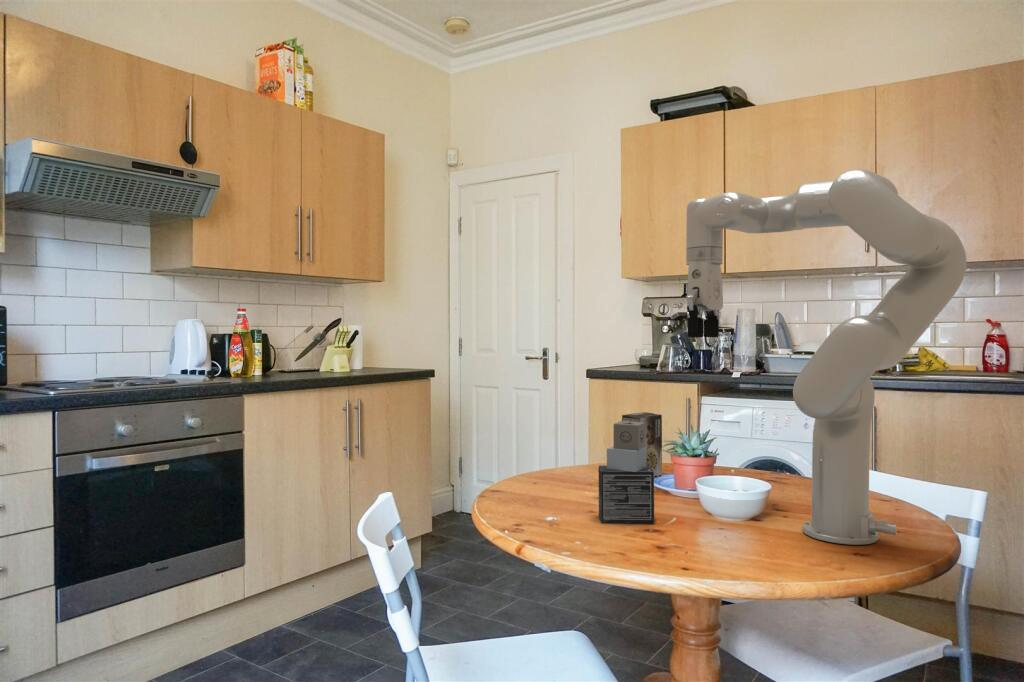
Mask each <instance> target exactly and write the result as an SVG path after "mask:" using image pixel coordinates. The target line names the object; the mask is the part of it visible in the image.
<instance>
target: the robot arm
mask: <svg viewBox="0 0 1024 682" xmlns="http://www.w3.org/2000/svg"><path fill="white" fill-rule="evenodd" d="M832 227H849V228H850V229H851V230H852V231H853V232H854V233H856V234H857V235H858V236H859V237H860V238H861V239H863V241H865V242H866V243H867V244H868V245H869V246H870V247H872V248H873V249H874V251H876V252H877V253H878V254H880V255H881V256H883V257H884V258H886V259H887V260H889V261H891V262H894V263H896V264H900V265H906V266H907V269H906V272H905V273H904V275H902V277H901V278H900V279H899V280H898V281H896V283H894V284H893V285H892V286H891V288H890V289H889V290H888V291H887V292H886V294H885V295H884V296H883V298H882V299H881V300H880V301H879V303H878V304H877V305H876V307H875V308H874V309H872V311H871V312H870V313H868V314H867V315H856V316H853V317H850V318H847V319H845V320H844V321H842V322H841V323H839V324H838V325H837V326H836V327H834V329H833V330H832V331H831V332H830V333H829V334H828V336H827V337H826V338H825V339H824V341H823V342H822V343H821V345H820V346H819V347H818V349H817V350H816V351H815V352H814V354H813V355H812V357H810V359H808V361H807V363H806V364H805V365H804V366H803V368H801V371H800V372H799V374H798V375H797V376H796V379H795V381H794V383H793V387H792V395H793V397H792V398H793V401H794V403H795V405H796V407H797V409H798V410H799V411H800V412H802V414H804V415H805V416H807V417H809V418H811V419H812V418H813V419H814V424H813V430H812V446H811V447H812V451H811V458H812V460H811V520H808V521H804V522H803V523H802V532H803V533H804V534H805V535H806V536H808V537H810V538H813V539H816V540H819V541H824V542H827V543H833V544H840V545H841V544H842V545H850V546H851V545H852V546H853V545H855V546H857V545H858V546H859V545H860V546H862V545H863V546H864V545H871V544H874V543H877V541H878V540H879V533H884V534H886V535H892V536H897V533H898V529H897V528H898V527H897V524H896V523H892V522H891V521H889V520H880V519H879V520H878V519H876V517H873V514H874V513H873V511H872V510H870V453H871V431H872V430H871V428H872V427H871V426H872V419H873V413H874V406H875V396H876V395H875V387H874V384H873V381H872V380H871V377H872V376H873V375H874V374H875V373H876V372H877V371H883V370H887V369H890V368H893V367H895V366H897V365H898V364H899V363H900V362H901V361H902V360H903V359H904V358H905V356H906V355H907V354H908V353H909V351H910V350H911V348H912V347H913V346H914V345H915V344H916V343H917V342H918V340H919V339H920V338H921V337H922V335H923V334H924V333H925V332H926V331H927V330H928V328H929V327H930V326H931V325H932V323H933V322H934V320H935V319H936V318H937V317H938V316H939V314H940V313H941V312H942V311H943V310H944V308H946V307H947V305H948V304H949V302H950V301H951V300H952V299H953V297H954V296H955V295H956V294H957V291H958V290H959V289H960V286H961V285H962V283H963V280H964V279H965V278H964V277H965V275H966V272H967V254H966V249H965V246H964V244H963V242H962V240H961V238H960V237H959V235H958V234H957V232H956V231H955V230H954V229H953V228H952V227H951V226H949V225H948V223H946V222H944V221H942V220H940V219H938V218H935V217H933V216H930V215H927V214H924V213H922V212H920V211H919V210H918V209H917V208H915V207H914V206H913V205H911V204H910V203H908V201H906V200H904V199H903V198H902V197H901V196H899V191H898V189H897V187H896V186H895V184H894V183H893V182H892V181H891V180H890V179H888V178H886V177H884V176H882V175H880V174H877V173H875V172H873V171H870V170H868V169H861V168H860V169H859V168H858V169H852V170H848V171H846V172H844V173H841V174H840V175H839V176H838V177H836V178H835V179H834V180H825V181H816V182H807V183H803V184H801V185H800V186H798V188H797V189H796V191H795V192H794V193H791V194H787V195H781V196H772V197H771V196H770V197H755V196H753V195H750V194H749V195H748V194H745V193H741V192H739V191H737V192H736V191H728V192H723V193H721V194H717V195H715V196H712V197H710V198H709V197H706V198H696V199H692V200H690V201H689V202H688V203H687V205H686V233H685V234H686V239H685V240H686V241H685V242H686V243H685V246H686V248H685V249H686V250H685V251H686V253H685V259H686V261H685V262H686V263H685V264H686V266H688V268H687V269H688V271H687V285H686V287H687V288H686V305H687V306H686V309H687V316H686V317H687V337H688V338H719V335H720V333H719V332H720V326H719V325H720V314H719V312H720V311H721V310H722V309H723V308H724V295H723V294H724V293H723V291H724V290H723V276H722V268H721V265H723V261H724V259H723V257H724V255H723V254H724V253H723V251H724V250H723V248H724V247H723V244H724V238H723V237H724V229H725V230H728V231H729V230H731V231H736V232H740V233H745V234H769V233H772V234H773V233H784V232H793V231H802V230H806V229H814V228H815V229H817V228H818V229H819V228H832ZM703 315H704V318H703Z"/></svg>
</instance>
